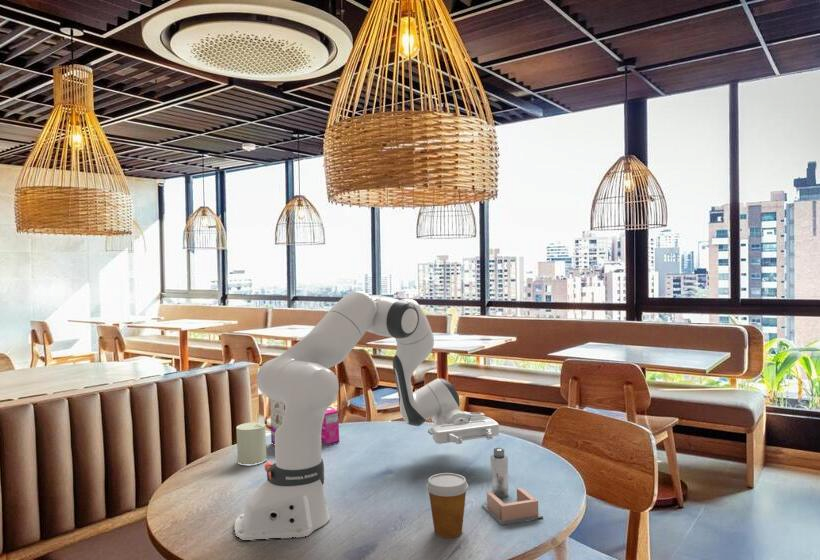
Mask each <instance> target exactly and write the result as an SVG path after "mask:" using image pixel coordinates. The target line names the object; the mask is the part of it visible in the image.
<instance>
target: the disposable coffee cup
mask: <svg viewBox="0 0 820 560" xmlns="http://www.w3.org/2000/svg"><path fill="white" fill-rule="evenodd" d="M468 488H469V485H468V482H467V479H466V477H465V476H463V475H461V474H459V473H453V472H443V473H442V472H441V473H437V474H433V475H431V476H430V477H428V479H427V483H426V490H427V491H428V495H429V502H430V509H431V516H432V522H433V530H434V534H436V536H438V537H441V538H447V539H452V538H456V537H459V536H460V535H462V534H463V528H464V527H463V524H464V515H465V505H466V497H467V496H466V495H467V491H468V490H467V489H468Z"/></svg>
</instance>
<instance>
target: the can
mask: <svg viewBox="0 0 820 560" xmlns="http://www.w3.org/2000/svg"><path fill="white" fill-rule="evenodd" d="M266 434H267V432H266V423H264V422H259V421H251V422H245V423H241V424H238V425H237V426H236V446H237V448H236V449H237V456H236V457H237V461H238V462H239V463H241V464H255V463H259V462H262V461H264V460H266V458H267V439H266Z"/></svg>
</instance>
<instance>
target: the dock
mask: <svg viewBox="0 0 820 560" xmlns="http://www.w3.org/2000/svg"><path fill="white" fill-rule="evenodd" d="M486 502H487V503H484V504H482V505H481V507H482V508H483V509H484V510H485V511H486V513H488V514H489V515H490V516H491V517H492V518H493V519H494V520H495V521H496V522H497V523H498V524H499V525H500V526H505V525H511V524H517V523H522V521H524V522H528V521H527V520H530V521H534V520H533V519H536V520H539V519H538V518H542V519H544V515H542V514H541V513H540V512H539V500H538V499H536V498H535V497H534V496H532V495H531V494H530V493H529V492H527V491H526V490H525V489H524V488H523V487H517V488H516V499H512V500H511V499H509V500H504V501H502V500H501V498H498V497H497V496H495V495H494V494H493V493H492V492H491V491H489V492H486Z"/></svg>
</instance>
